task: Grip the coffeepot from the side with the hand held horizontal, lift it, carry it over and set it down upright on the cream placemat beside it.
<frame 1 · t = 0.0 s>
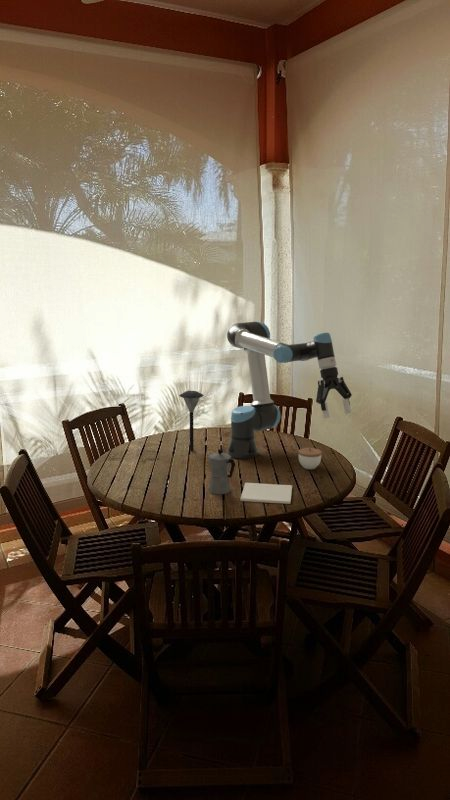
hand: (337, 415, 272), 28 cm above the table, tool tilted 20°, fingers open, 13 cm apart
lidded jar: (309, 467, 290), on the table
solar garden light: (191, 450, 313), on the table
placemat: (266, 494, 257), on the table
coffeepot: (221, 491, 259), on the table
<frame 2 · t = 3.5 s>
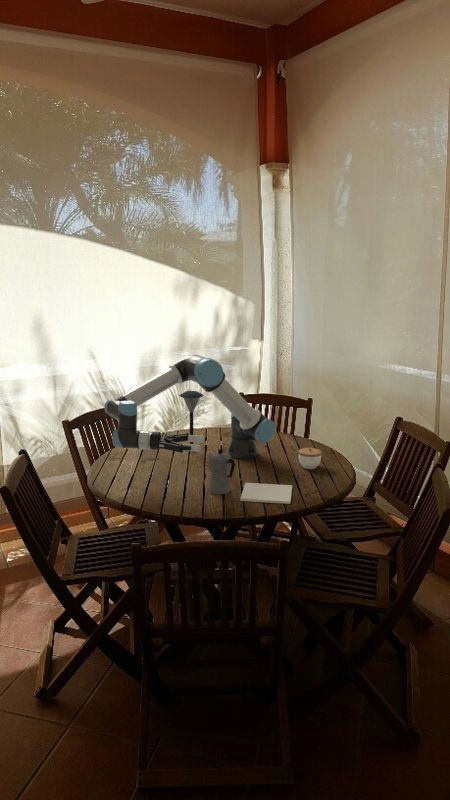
hand: (201, 443, 256), 20 cm above the table, tool horizontal, fingers open, 13 cm apart
nothing on the table moved.
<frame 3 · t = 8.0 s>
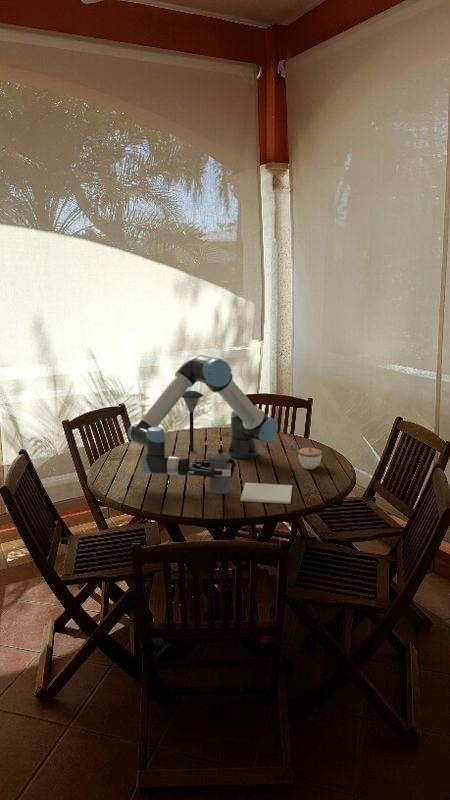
hand: (232, 468, 256), 10 cm above the table, tool horizontal, fingers closed on coffeepot, 9 cm apart
coffeepot: (221, 491, 259), on the table, touching gripper
everything else where it was.
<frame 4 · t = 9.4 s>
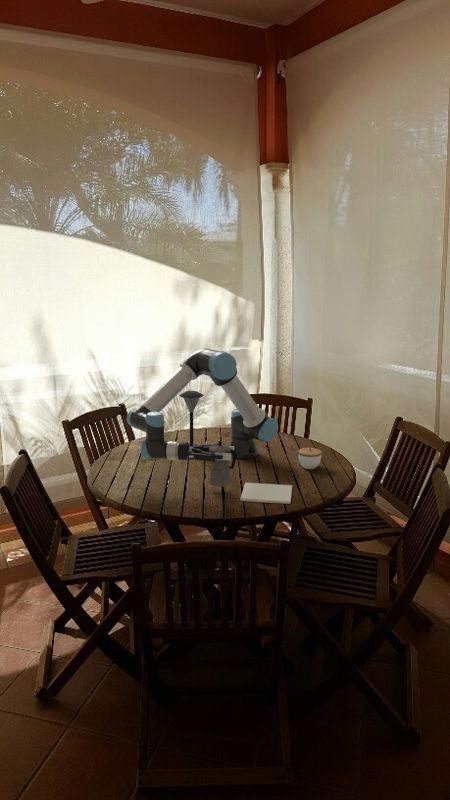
hand: (232, 453, 255), 17 cm above the table, tool horizontal, fingers closed on coffeepot, 8 cm apart
coffeepot: (222, 483, 258), point 3 cm above the table, touching gripper
everything else where it was.
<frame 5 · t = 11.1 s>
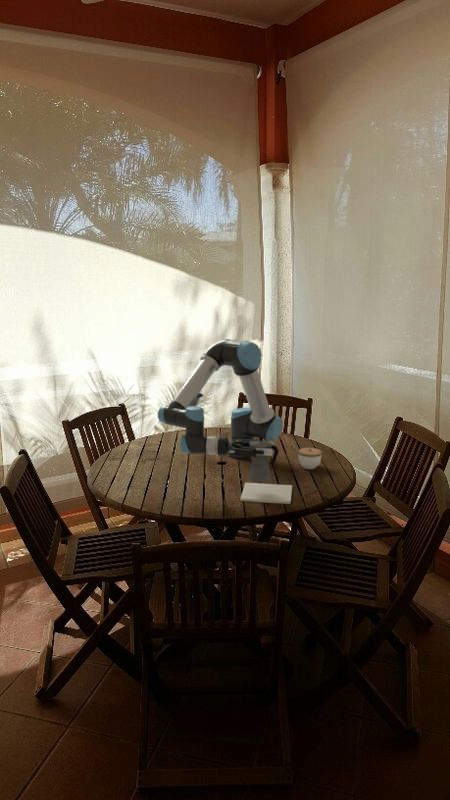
hand: (273, 448, 251), 20 cm above the table, tool horizontal, fingers closed on coffeepot, 8 cm apart
coffeepot: (262, 479, 254), point 6 cm above the table, touching gripper
everything else where it was.
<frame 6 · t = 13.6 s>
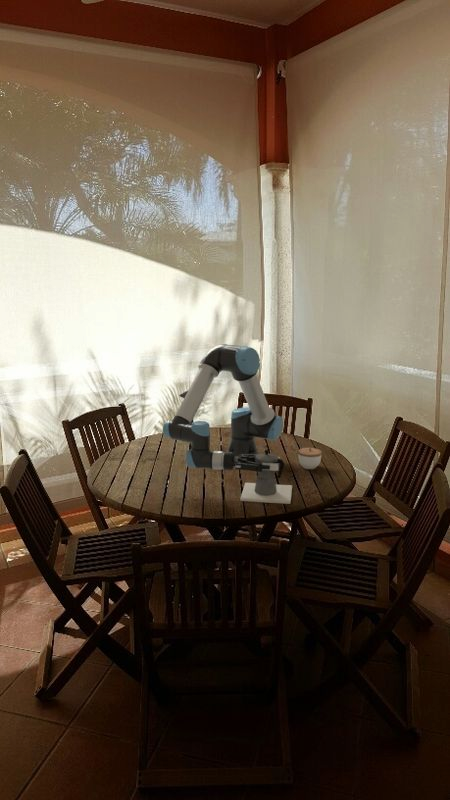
hand: (279, 463, 253), 13 cm above the table, tool horizontal, fingers closed on coffeepot, 8 cm apart
coffeepot: (267, 492, 256), point 1 cm above the table, touching gripper, placemat
everything else where it was.
when the fingers open (13 cm above the table, at t = 13.7 s): coffeepot stays where it is, resting on placemat.
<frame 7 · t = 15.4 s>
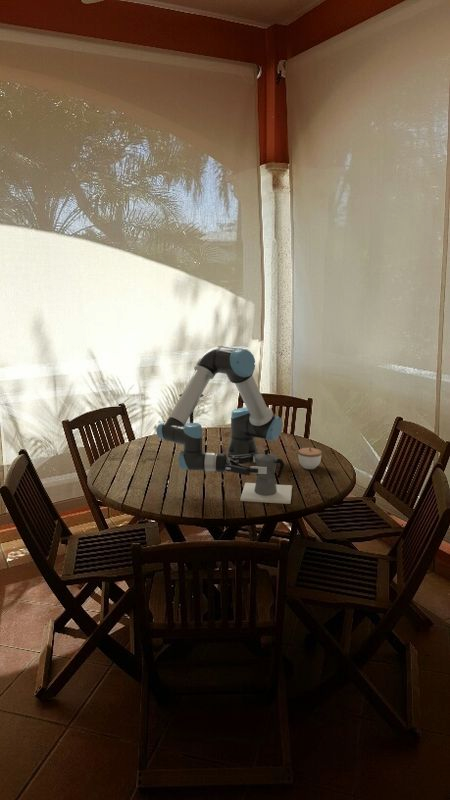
hand: (267, 465, 254), 13 cm above the table, tool horizontal, fingers open, 13 cm apart
coffeepot: (267, 492, 256), point 1 cm above the table, touching placemat
everything else where it was.
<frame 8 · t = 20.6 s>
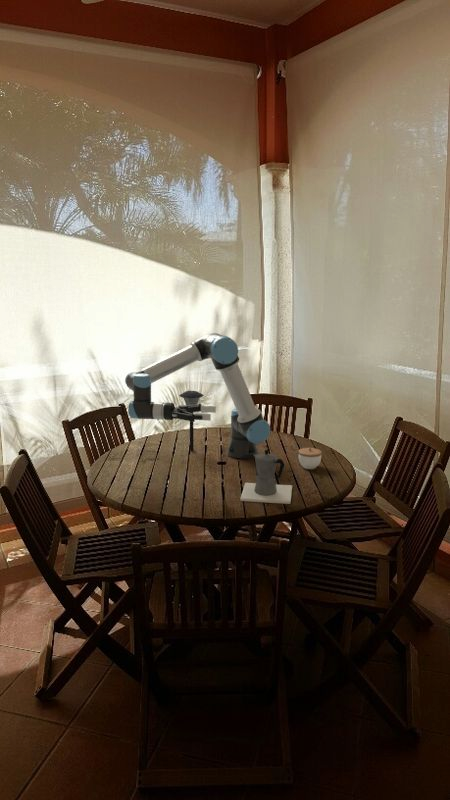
hand: (213, 413, 266), 30 cm above the table, tool horizontal, fingers open, 13 cm apart
nothing on the table moved.
at the end: coffeepot inside the target area on the placemat (0.8 cm from its centre), point 0.8 cm above the placemat's base; coffeepot tilted 0°; the gripper is holding nothing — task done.
